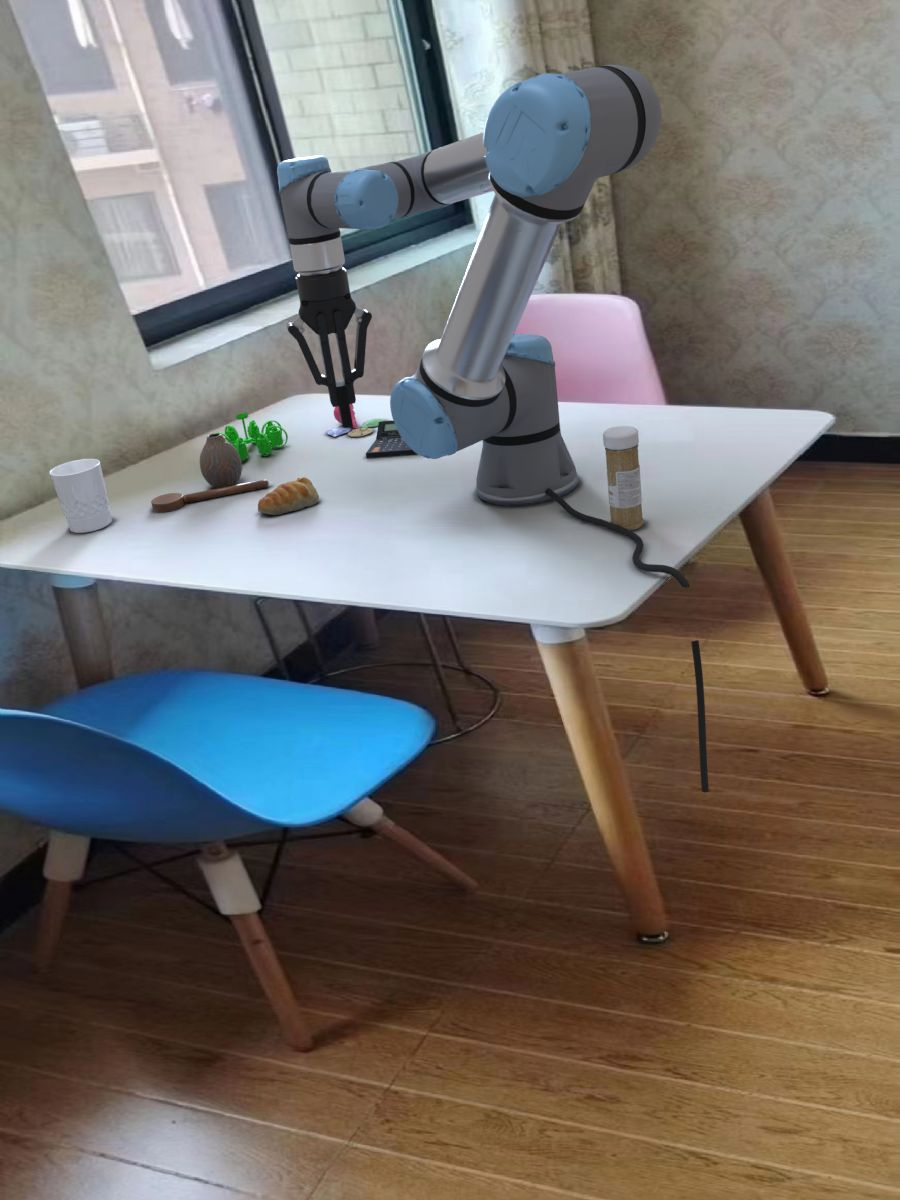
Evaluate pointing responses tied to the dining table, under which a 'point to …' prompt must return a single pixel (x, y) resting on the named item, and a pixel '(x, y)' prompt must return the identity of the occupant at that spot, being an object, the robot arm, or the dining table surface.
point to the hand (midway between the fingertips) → (347, 425)
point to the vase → (220, 462)
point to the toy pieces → (357, 432)
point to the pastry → (289, 497)
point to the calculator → (388, 442)
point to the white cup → (82, 494)
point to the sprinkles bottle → (623, 476)
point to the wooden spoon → (202, 495)
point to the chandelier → (255, 437)
